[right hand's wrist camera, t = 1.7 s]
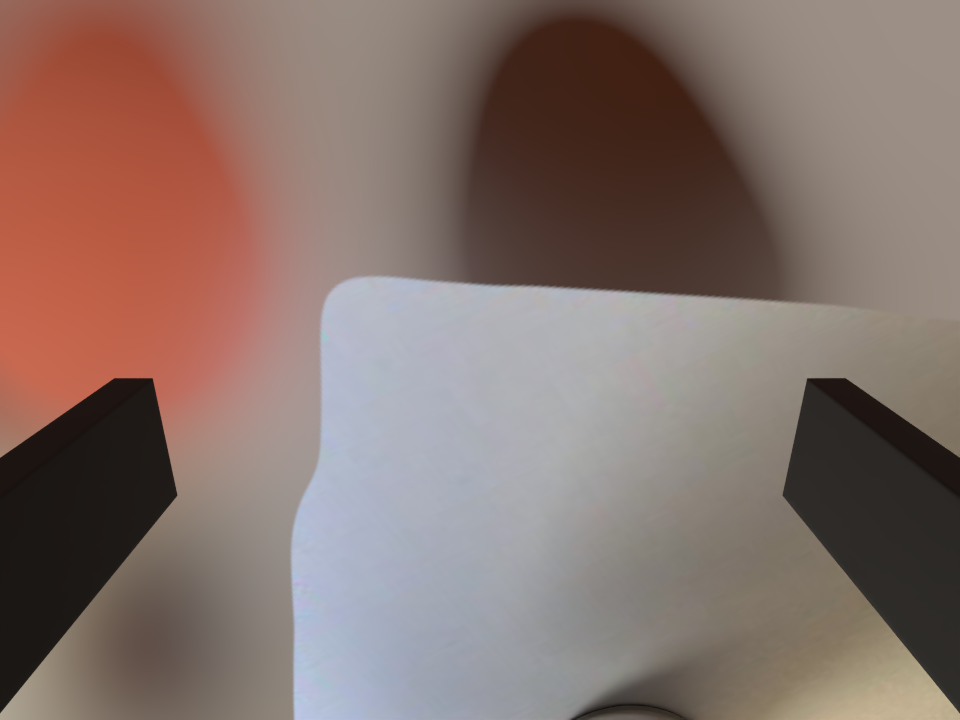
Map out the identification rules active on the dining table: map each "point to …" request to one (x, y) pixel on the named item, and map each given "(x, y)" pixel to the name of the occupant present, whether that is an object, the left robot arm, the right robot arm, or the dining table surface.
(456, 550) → the dining table surface
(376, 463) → the dining table surface
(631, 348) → the dining table surface
